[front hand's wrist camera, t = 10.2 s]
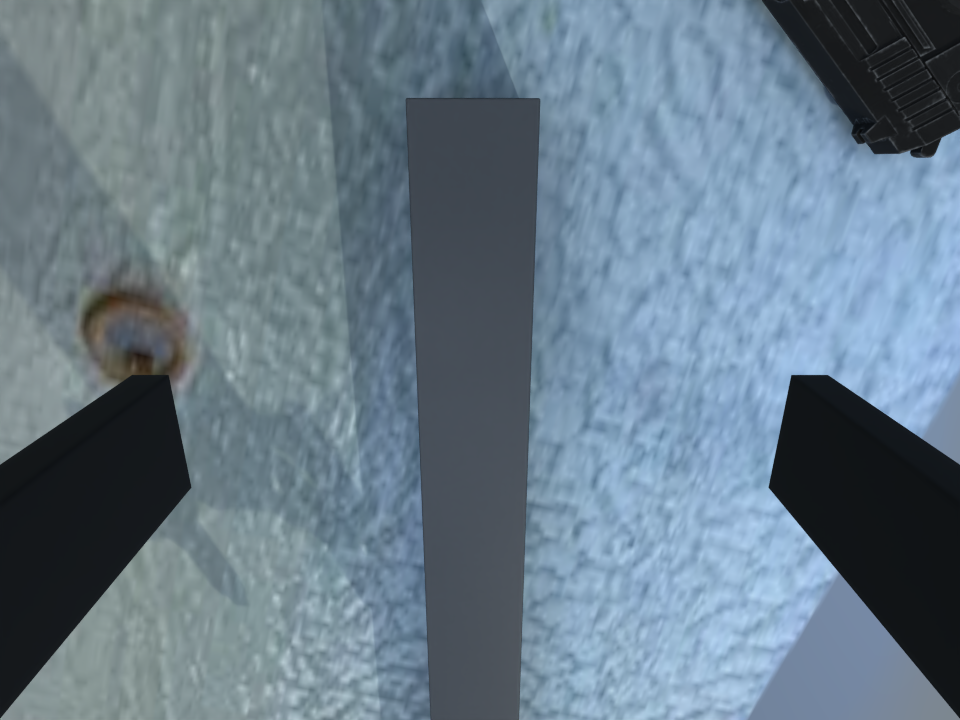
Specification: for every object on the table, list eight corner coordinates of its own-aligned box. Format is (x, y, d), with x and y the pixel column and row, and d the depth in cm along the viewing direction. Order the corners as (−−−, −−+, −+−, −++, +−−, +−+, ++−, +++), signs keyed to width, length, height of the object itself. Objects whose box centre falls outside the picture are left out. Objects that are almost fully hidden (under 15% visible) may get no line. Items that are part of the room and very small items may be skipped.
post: (426, 109, 28) (405, 98, 20) (523, 109, 28) (540, 98, 20) (449, 906, 50) (443, 1044, 42) (503, 906, 50) (507, 1044, 42)
